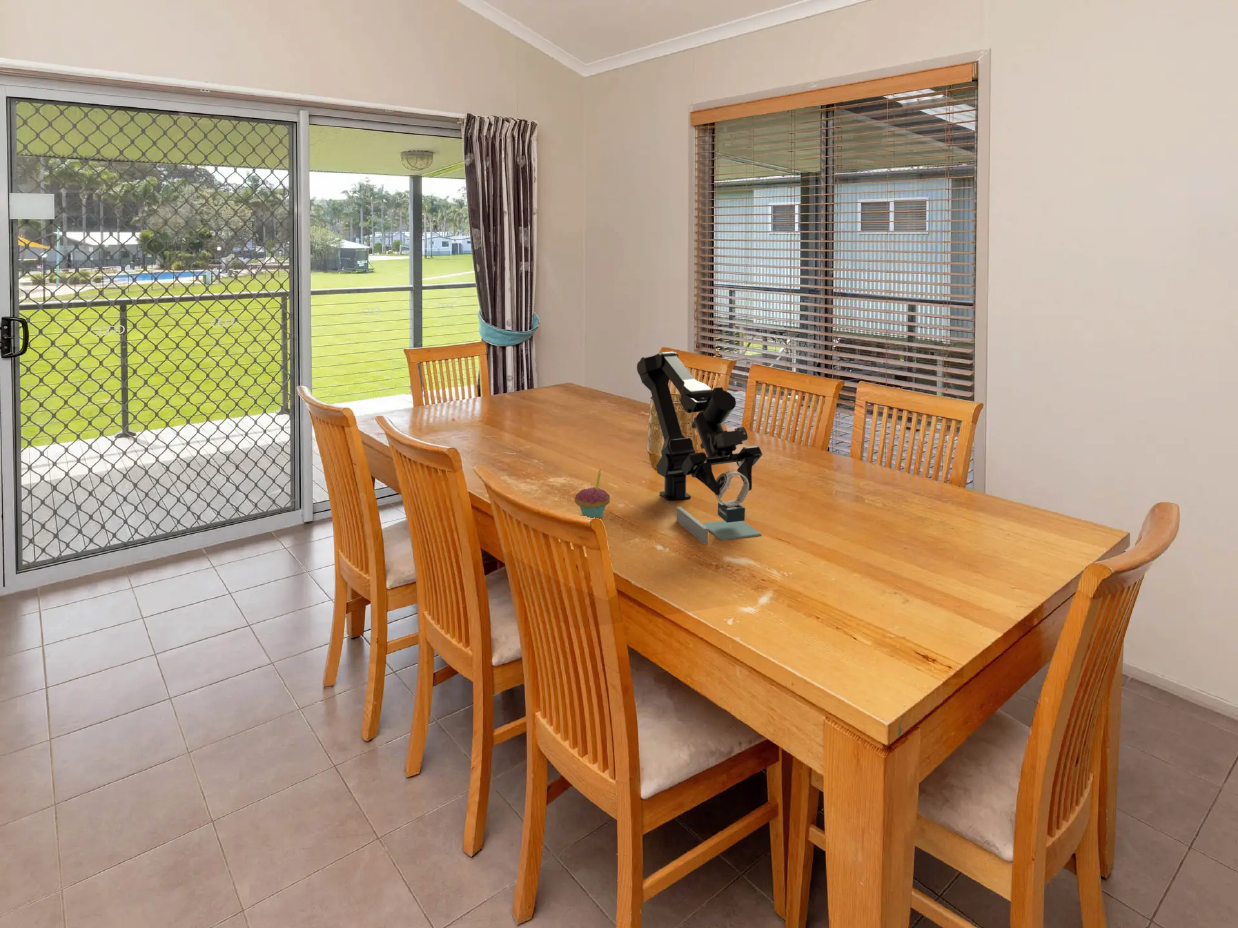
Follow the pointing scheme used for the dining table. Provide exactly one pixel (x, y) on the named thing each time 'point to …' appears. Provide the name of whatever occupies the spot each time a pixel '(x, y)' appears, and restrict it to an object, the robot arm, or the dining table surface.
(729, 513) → the watch
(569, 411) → the dining table surface
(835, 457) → the dining table surface
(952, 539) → the dining table surface
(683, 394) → the robot arm
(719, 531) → the mat
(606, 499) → the cupcake
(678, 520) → the acrylic wall
